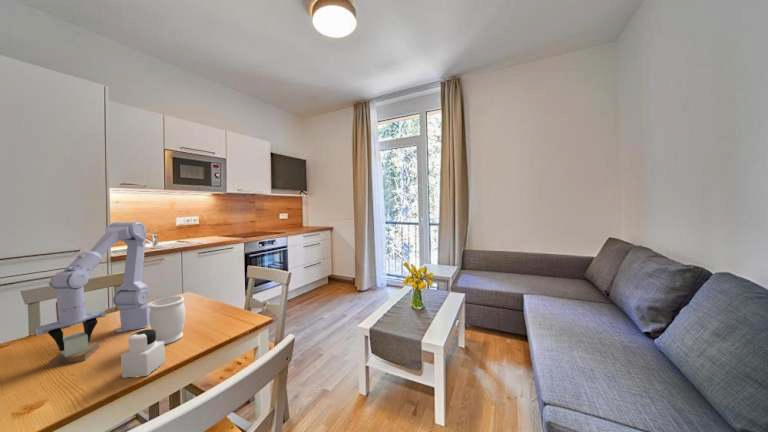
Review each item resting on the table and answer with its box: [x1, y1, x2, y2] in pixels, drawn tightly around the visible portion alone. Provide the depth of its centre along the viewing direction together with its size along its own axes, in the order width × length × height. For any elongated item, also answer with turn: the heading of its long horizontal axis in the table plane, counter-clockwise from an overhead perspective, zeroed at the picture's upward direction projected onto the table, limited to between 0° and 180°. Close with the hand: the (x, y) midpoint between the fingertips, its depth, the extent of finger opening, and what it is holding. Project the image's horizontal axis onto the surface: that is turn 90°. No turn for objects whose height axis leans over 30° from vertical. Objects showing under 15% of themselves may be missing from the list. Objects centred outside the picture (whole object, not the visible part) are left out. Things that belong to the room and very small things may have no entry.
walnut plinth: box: [48, 342, 100, 368], centre depth 85 cm, size 8×8×2 cm
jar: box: [148, 295, 186, 345], centre depth 96 cm, size 11×10×15 cm
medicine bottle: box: [120, 328, 166, 379], centre depth 78 cm, size 7×7×12 cm
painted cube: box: [60, 331, 89, 357], centre depth 85 cm, size 5×5×5 cm
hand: (74, 345), depth 85 cm, fingers closed on painted cube, 5 cm apart
